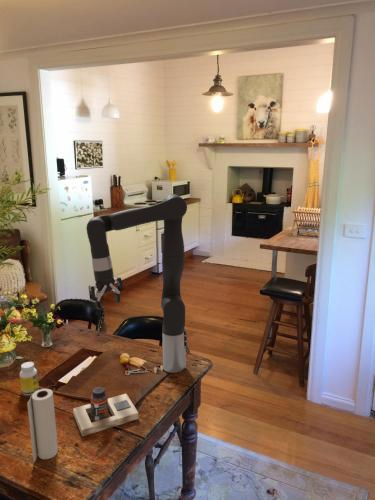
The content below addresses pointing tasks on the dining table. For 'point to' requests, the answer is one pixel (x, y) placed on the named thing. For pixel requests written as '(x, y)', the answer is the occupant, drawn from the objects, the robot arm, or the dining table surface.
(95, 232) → the robot arm
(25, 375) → the pill bottle
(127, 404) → the board
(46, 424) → the paper towel roll
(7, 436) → the dining table surface
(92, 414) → the supplement bottle
